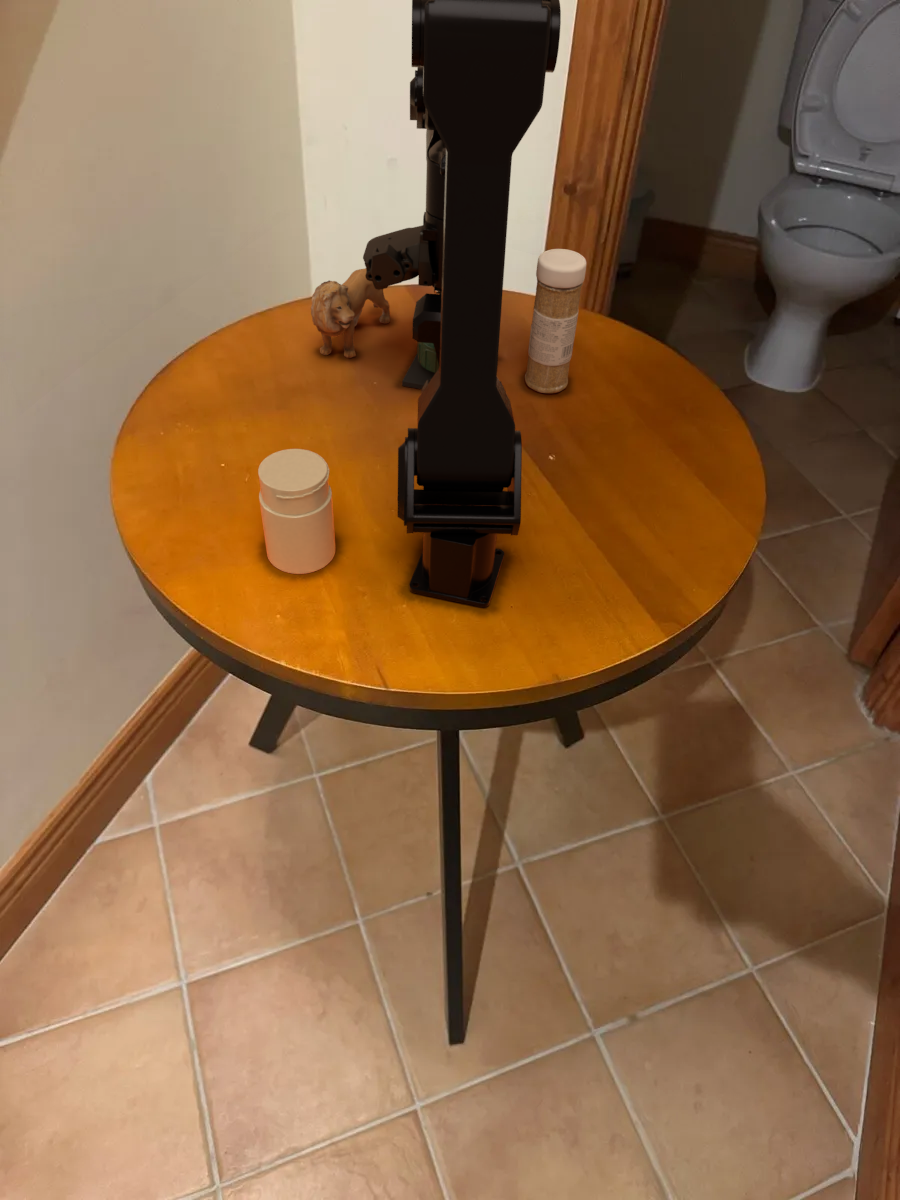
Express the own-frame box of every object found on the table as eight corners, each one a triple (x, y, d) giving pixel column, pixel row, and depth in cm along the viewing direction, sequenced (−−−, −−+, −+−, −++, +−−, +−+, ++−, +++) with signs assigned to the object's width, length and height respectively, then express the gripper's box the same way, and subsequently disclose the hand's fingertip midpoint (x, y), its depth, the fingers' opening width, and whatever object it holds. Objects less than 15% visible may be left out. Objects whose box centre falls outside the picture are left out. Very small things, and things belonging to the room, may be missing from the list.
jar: (322, 580, 72) (315, 498, 66) (256, 566, 73) (243, 484, 67) (344, 535, 76) (340, 454, 70) (282, 522, 77) (272, 441, 71)
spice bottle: (546, 367, 96) (563, 242, 86) (576, 386, 93) (597, 260, 84) (514, 380, 94) (528, 254, 84) (544, 400, 91) (562, 273, 81)
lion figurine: (352, 379, 92) (349, 297, 86) (303, 370, 93) (296, 288, 87) (397, 312, 102) (397, 234, 96) (353, 304, 103) (350, 226, 97)
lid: (410, 369, 91) (410, 345, 89) (427, 337, 96) (428, 314, 94) (472, 380, 90) (474, 356, 88) (487, 348, 95) (488, 324, 93)
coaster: (478, 399, 91) (478, 394, 90) (401, 386, 92) (401, 381, 92) (495, 359, 96) (495, 354, 96) (422, 346, 97) (422, 341, 97)
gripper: (381, 164, 89) (383, 311, 100) (353, 248, 76) (359, 406, 87) (495, 172, 88) (484, 318, 100) (486, 258, 75) (474, 415, 87)
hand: (450, 361), depth 93 cm, fingers closed on lid, 6 cm apart
